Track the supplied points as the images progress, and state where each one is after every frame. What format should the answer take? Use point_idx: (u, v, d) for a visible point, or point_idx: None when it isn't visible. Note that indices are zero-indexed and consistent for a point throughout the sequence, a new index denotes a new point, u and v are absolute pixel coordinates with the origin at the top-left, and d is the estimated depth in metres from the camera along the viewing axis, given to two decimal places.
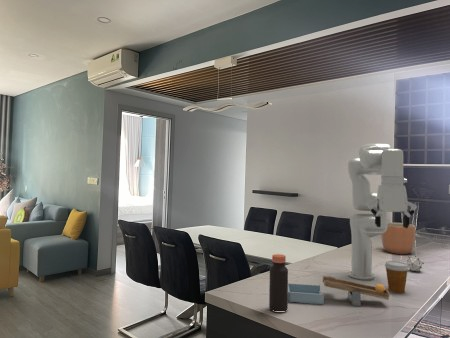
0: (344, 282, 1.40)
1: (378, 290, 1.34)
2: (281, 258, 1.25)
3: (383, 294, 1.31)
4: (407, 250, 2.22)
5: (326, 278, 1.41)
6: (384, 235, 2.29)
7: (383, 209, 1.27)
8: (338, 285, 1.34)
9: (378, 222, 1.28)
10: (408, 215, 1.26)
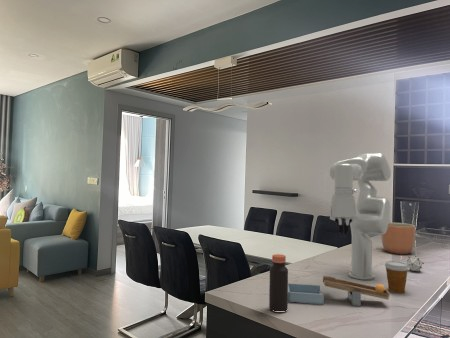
0: (344, 282, 1.40)
1: (378, 290, 1.34)
2: (281, 258, 1.25)
3: (383, 294, 1.31)
4: (407, 250, 2.22)
5: (326, 278, 1.41)
6: (384, 235, 2.29)
7: (335, 215, 1.48)
8: (338, 285, 1.34)
9: (341, 230, 1.48)
10: (347, 223, 1.48)
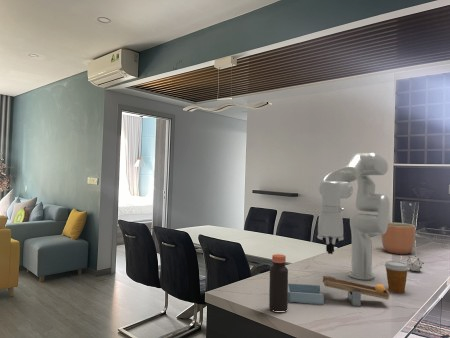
0: (344, 282, 1.40)
1: (378, 290, 1.34)
2: (281, 258, 1.25)
3: (383, 294, 1.31)
4: (407, 250, 2.22)
5: (326, 278, 1.41)
6: (384, 235, 2.29)
7: (322, 234, 1.44)
8: (338, 285, 1.34)
9: (328, 249, 1.44)
10: (333, 242, 1.44)
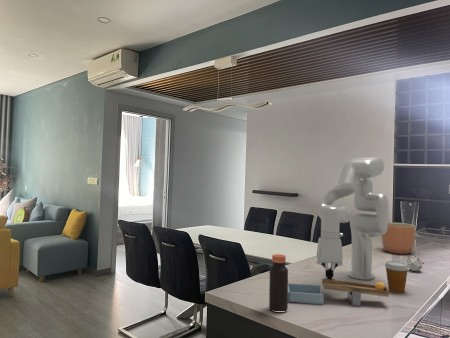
0: (343, 283, 1.40)
1: (378, 288, 1.34)
2: (281, 258, 1.25)
3: (383, 292, 1.31)
4: (407, 250, 2.22)
5: (325, 280, 1.41)
6: (384, 235, 2.29)
7: (321, 260, 1.44)
8: (337, 287, 1.34)
9: (327, 275, 1.44)
10: (332, 268, 1.44)
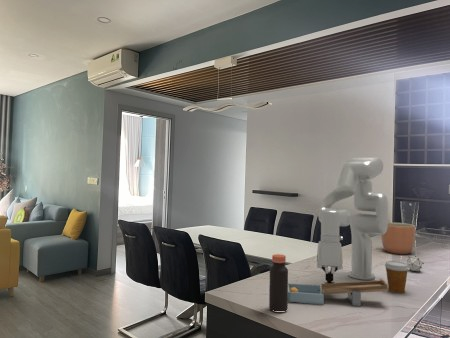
0: (343, 284, 1.40)
1: None
2: (281, 258, 1.25)
3: (382, 287, 1.32)
4: (407, 250, 2.22)
5: (324, 285, 1.41)
6: (384, 235, 2.29)
7: (321, 264, 1.43)
8: (336, 290, 1.34)
9: (327, 279, 1.44)
10: (332, 272, 1.43)
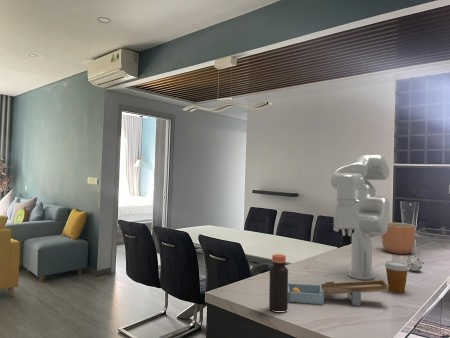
0: (343, 284, 1.40)
1: None
2: (281, 258, 1.25)
3: (382, 287, 1.32)
4: (407, 250, 2.22)
5: (324, 285, 1.41)
6: (384, 235, 2.29)
7: (338, 227, 1.47)
8: (336, 290, 1.34)
9: (344, 241, 1.48)
10: (349, 234, 1.47)
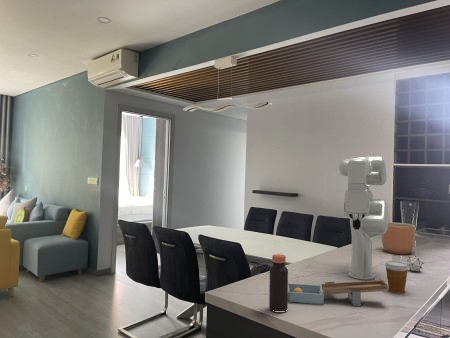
0: (343, 284, 1.40)
1: (295, 291, 1.38)
2: (281, 258, 1.25)
3: (382, 287, 1.32)
4: (407, 250, 2.22)
5: (324, 285, 1.41)
6: (384, 235, 2.29)
7: (349, 211, 1.49)
8: (336, 290, 1.34)
9: (355, 225, 1.49)
10: (359, 218, 1.49)
